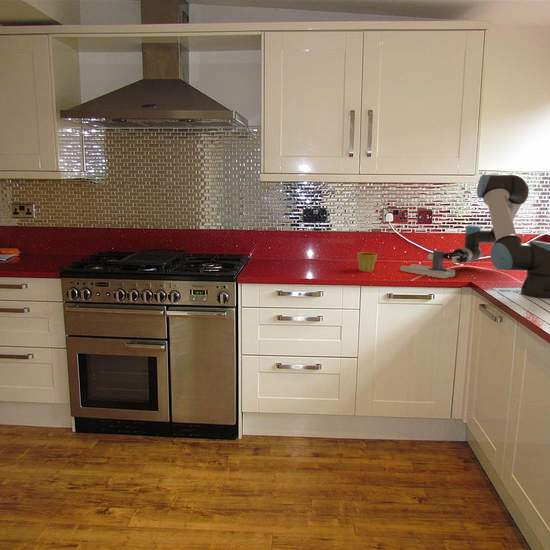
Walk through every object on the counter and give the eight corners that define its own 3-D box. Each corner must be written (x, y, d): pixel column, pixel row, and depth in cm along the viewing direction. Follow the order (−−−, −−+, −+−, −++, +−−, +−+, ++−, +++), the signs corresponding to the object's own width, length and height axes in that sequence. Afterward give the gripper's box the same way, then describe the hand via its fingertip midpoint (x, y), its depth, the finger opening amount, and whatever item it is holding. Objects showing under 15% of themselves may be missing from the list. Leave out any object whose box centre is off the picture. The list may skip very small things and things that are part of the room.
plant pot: (378, 271, 273) (379, 253, 271) (371, 274, 264) (373, 255, 262) (360, 269, 278) (361, 251, 276) (353, 272, 269) (354, 253, 267)
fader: (446, 271, 261) (447, 251, 259) (438, 272, 256) (440, 251, 255) (435, 269, 265) (437, 249, 264) (428, 271, 261) (429, 250, 259)
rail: (454, 276, 259) (455, 270, 259) (444, 278, 253) (444, 272, 252) (411, 270, 279) (411, 264, 278) (400, 271, 272) (400, 265, 272)
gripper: (483, 264, 267) (462, 268, 253) (440, 259, 285) (418, 262, 272) (484, 250, 265) (463, 253, 252) (441, 246, 284) (419, 248, 270)
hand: (440, 258), depth 262 cm, fingers open, 13 cm apart
